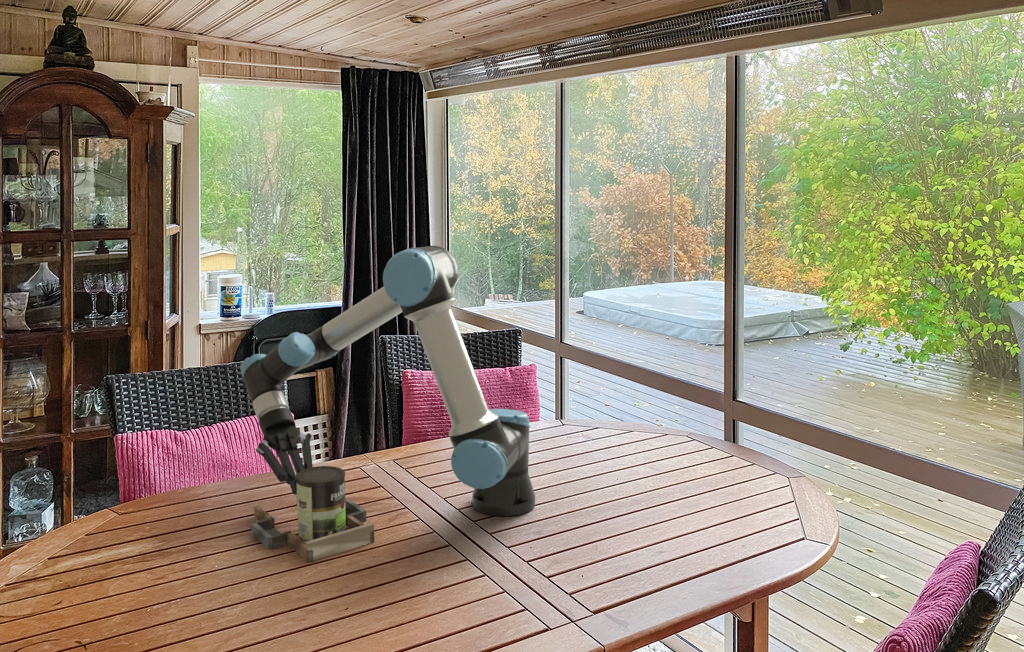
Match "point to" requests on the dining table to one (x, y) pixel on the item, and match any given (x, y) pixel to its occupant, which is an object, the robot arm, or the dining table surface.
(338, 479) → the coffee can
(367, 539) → the box
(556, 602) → the dining table surface
